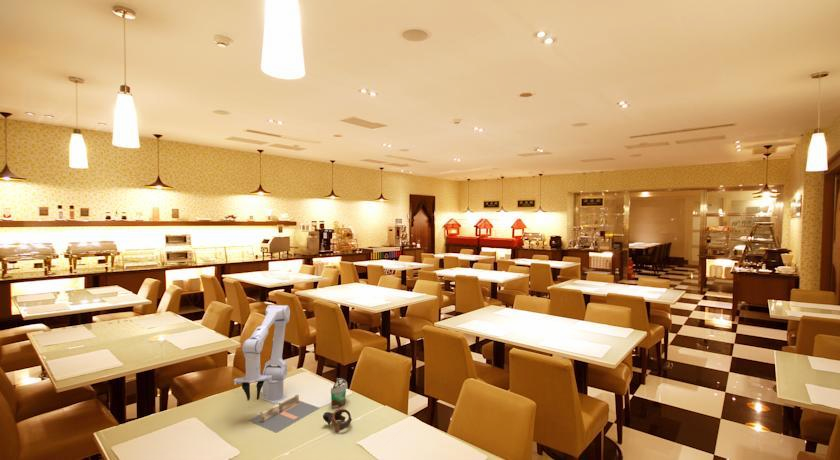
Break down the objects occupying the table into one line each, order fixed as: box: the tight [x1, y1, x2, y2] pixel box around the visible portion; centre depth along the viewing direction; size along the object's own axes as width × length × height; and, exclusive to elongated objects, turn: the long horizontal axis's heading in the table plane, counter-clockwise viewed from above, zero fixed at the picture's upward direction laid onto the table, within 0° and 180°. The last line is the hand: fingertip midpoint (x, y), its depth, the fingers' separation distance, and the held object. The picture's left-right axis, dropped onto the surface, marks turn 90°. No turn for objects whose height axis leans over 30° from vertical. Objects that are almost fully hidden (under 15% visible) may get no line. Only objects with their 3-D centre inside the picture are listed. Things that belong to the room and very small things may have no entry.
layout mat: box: [247, 400, 320, 434], centre depth 175 cm, size 18×24×1 cm
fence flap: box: [259, 404, 279, 422], centre depth 172 cm, size 9×2×4 cm, turn 149°
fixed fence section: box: [278, 394, 300, 413], centre depth 181 cm, size 2×11×4 cm, turn 149°
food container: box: [330, 377, 349, 409], centre depth 185 cm, size 12×6×10 cm, turn 179°
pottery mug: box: [322, 408, 353, 434], centre depth 166 cm, size 12×10×8 cm
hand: (253, 399), depth 170 cm, fingers open, 3 cm apart
